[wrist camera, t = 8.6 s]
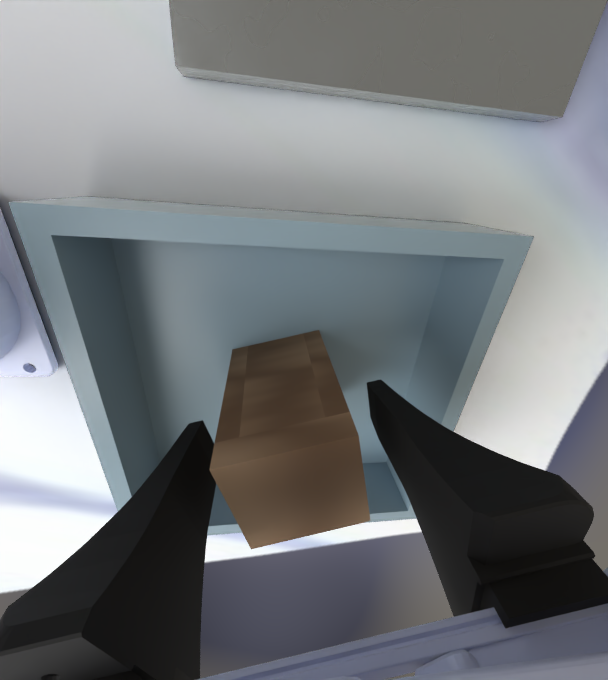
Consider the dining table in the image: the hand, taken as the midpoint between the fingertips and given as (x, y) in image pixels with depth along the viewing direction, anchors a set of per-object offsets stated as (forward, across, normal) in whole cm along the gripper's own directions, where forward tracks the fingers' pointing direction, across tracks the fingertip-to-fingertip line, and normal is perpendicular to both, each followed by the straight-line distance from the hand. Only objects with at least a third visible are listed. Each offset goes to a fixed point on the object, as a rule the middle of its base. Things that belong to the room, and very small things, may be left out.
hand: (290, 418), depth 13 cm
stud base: (+4, -8, -18) cm, 20 cm away
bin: (+4, 0, 0) cm, 4 cm away
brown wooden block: (+3, 0, 0) cm, 3 cm away
